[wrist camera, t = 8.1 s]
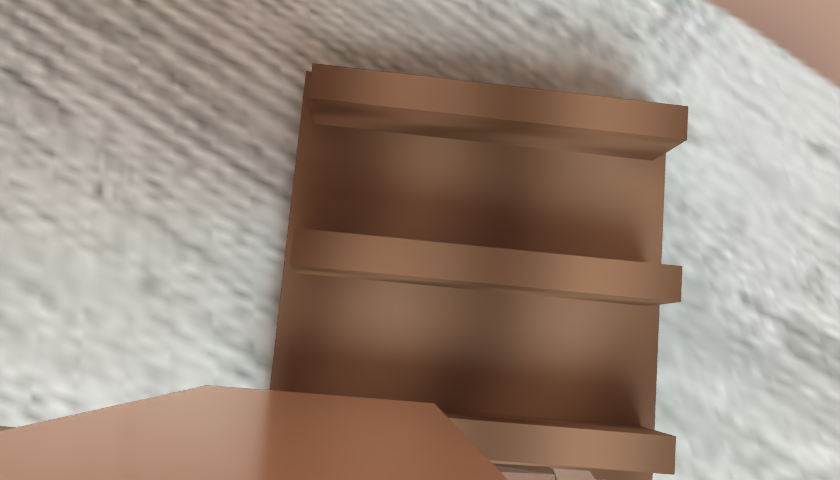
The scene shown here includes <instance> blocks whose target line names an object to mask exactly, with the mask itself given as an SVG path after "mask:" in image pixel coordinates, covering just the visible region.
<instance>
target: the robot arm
mask: <svg viewBox="0 0 840 480" xmlns="http://www.w3.org/2000/svg"><path fill="white" fill-rule="evenodd" d="M12 428H16V427H7V426H0V431H3V430H7V429H12ZM492 464H493V465H494V466H495V467H496V468H497V469H498V470H499V471H500V472H501V473H502V474H503V475H504V476H505V477H506V478H507V479H508V480H595V478H594V477H593V475H592V474H591V472H590V471H587V470H573V469H556V468H550V467H545V466H529V465H512V464H496V463H492Z"/></svg>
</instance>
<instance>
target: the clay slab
mask: <svg viewBox="0 0 840 480" xmlns="http://www.w3.org/2000/svg"><path fill="white" fill-rule="evenodd" d="M0 480H508V479H507V478H506V477H505V476H504V475H503V474H502V473H501V472H500V471H499V470H498V469H497V468H496V467H495V466H494V465H493V464H492V463H491V462H490V461H489V460H488V459H487V458H486V457H485V455H484V454H483V453H482V452H481V451H480V450H479V449H478V448H477V447H476V446H475V445H474V444H473V443H472V442H471V441H470V440H469V439H468V438H467V437H466V436H465V435H464V434H463V433H462V432H461V430H460V429H459V428H458V427H457V426H456V425H455V424H454V423H453V422H452V421H451V420H450V419H449V418H448V417H447V416H446V415H445V414H444V413H443V412H442V411H441V410H440V409H439V408H438V407H437V405H436V404H435V403H424V402H412V401H399V400H387V399H374V398H362V397H349V396H336V395H324V394H311V393H299V392H286V391H274V390H261V389H249V388H236V387H223V386H211V385H205V386H201V387H196V388H192V389H187V390H183V391H178V392H174V393H169V394H165V395H160V396H156V397H151V398H147V399H142V400H138V401H133V402H129V403H124V404H120V405H115V406H111V407H106V408H102V409H97V410H93V411H88V412H84V413H79V414H75V415H70V416H66V417H61V418H57V419H52V420H48V421H43V422H39V423H34V424H30V425H25V426H21V427H16V428H12V429H7V430H3V431H0Z"/></svg>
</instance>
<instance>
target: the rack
mask: <svg viewBox="0 0 840 480" xmlns="http://www.w3.org/2000/svg"><path fill="white" fill-rule="evenodd" d="M687 123H688V106H681V105H672V104H663V103H655V102H646V101H637V100H628V99H620V98H611V97H602V96H593V95H585V94H576V93H567V92H558V91H550V90H541V89H532V88H523V87H515V86H506V85H497V84H488V83H480V82H471V81H462V80H453V79H445V78H436V77H427V76H418V75H410V74H401V73H392V72H383V71H375V70H366V69H357V68H348V67H340V66H331V65H322V64H312V72H309V71H306V78H305V87H304V95H303V104H302V113H301V122H300V130H299V139H298V148H297V157H296V165H295V174H294V183H293V192H292V200H291V209H290V218H289V227H288V235H287V244H286V253H285V262H284V270H283V279H282V288H281V297H280V305H279V314H278V323H277V332H276V340H275V349H274V358H273V367H272V375H271V384H270V390H274V391H286V392H299V393H311V394H324V395H336V396H349V397H362V398H374V399H387V400H399V401H412V402H424V403H435V404H436V405H437V407H438V408H439V409H440V410H441V411H442V412H443V413H444V414H445V415H446V416H447V417H448V418H449V419H450V420H451V421H452V422H453V423H454V424H455V425H456V426H457V427H458V428H459V429H460V430H461V432H462V433H463V434H464V435H465V436H466V437H467V438H468V439H469V440H470V441H471V442H472V443H473V444H474V445H475V446H476V447H477V448H478V449H479V450H480V451H481V452H482V453H483V454H484V455H485V457H486V458H487V459H488V460H489V461H490V462H491V463H496V464H512V465H529V466H545V467H550V468H556V469H573V470H587V471H590V472H591V474H592V475H593V477H594V478H595V480H652V475H653V473H661V474H674V473H675V446H676V436H672V435H669V434H665V433H662V432H659V431H655V430H654V427H655V402H656V378H657V354H658V330H659V305H660V304H667V303H675V302H681V285H682V266H675V265H665V264H661V257H662V233H663V208H664V184H665V160H666V152H668V151H669V150H671V149H673V148H674V147H676V146H678V145H679V144H681V143H682V142H684V141H686V140H687Z"/></svg>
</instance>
